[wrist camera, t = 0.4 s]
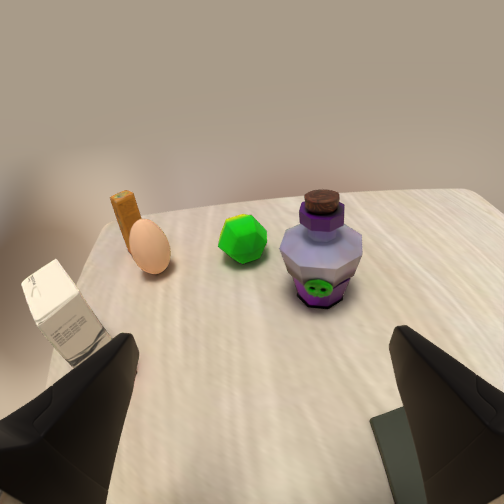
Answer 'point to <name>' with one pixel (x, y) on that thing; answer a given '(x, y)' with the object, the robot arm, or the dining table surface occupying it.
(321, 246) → the potion bottle
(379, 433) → the chalkboard
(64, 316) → the ink box
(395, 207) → the dining table surface
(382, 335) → the dining table surface
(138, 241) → the egg
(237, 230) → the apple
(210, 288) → the dining table surface
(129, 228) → the supplement box
